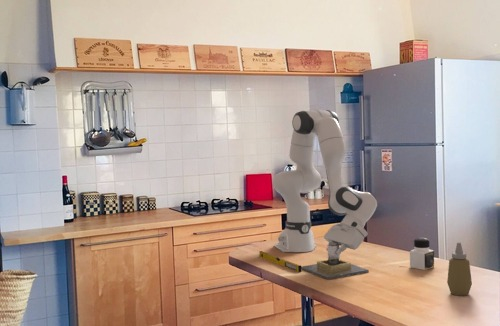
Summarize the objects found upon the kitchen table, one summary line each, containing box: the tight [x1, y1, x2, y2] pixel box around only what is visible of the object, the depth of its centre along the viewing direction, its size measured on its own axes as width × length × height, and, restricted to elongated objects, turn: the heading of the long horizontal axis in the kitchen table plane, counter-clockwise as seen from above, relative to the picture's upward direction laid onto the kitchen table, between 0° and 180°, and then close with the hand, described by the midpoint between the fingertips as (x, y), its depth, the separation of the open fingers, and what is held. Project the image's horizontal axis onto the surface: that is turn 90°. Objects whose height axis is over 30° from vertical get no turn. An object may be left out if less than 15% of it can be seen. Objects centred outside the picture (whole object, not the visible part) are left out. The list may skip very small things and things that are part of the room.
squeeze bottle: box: [446, 242, 473, 297], centre depth 196 cm, size 8×8×18 cm
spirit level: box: [259, 250, 302, 273], centre depth 247 cm, size 33×1×3 cm, turn 28°
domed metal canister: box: [327, 242, 341, 266], centre depth 232 cm, size 5×5×9 cm
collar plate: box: [301, 259, 369, 280], centre depth 233 cm, size 20×20×4 cm
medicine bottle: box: [409, 237, 435, 271], centre depth 233 cm, size 7×7×12 cm
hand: (332, 252), depth 232 cm, fingers closed on domed metal canister, 5 cm apart
